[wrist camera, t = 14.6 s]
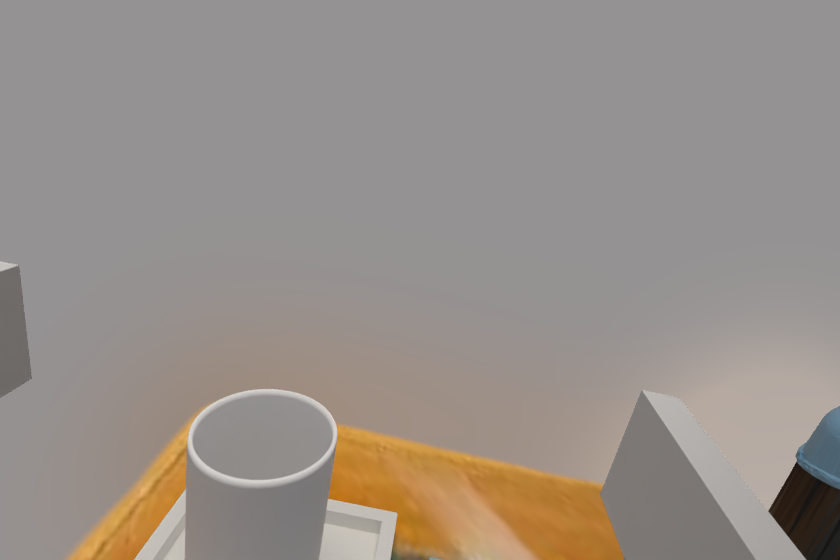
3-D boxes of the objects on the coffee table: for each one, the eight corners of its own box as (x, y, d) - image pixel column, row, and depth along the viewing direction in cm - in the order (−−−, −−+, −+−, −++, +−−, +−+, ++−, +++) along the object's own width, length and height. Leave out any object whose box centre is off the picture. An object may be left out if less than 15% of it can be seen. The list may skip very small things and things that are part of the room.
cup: (331, 636, 33) (364, 449, 27) (207, 720, 27) (217, 507, 22) (279, 546, 38) (298, 377, 33) (167, 601, 33) (168, 409, 27)
